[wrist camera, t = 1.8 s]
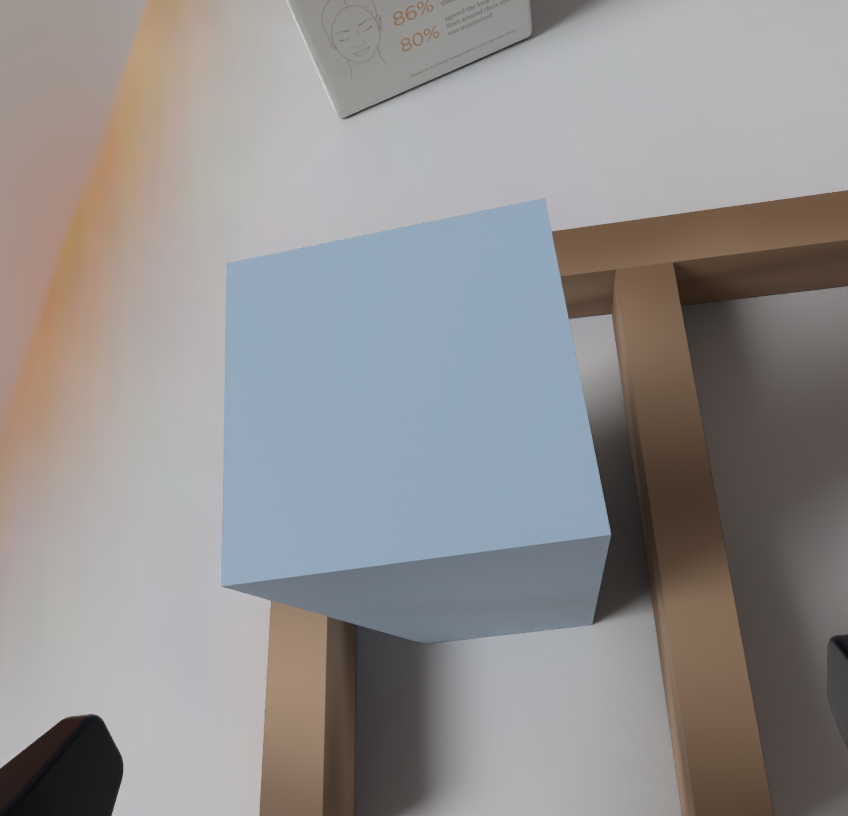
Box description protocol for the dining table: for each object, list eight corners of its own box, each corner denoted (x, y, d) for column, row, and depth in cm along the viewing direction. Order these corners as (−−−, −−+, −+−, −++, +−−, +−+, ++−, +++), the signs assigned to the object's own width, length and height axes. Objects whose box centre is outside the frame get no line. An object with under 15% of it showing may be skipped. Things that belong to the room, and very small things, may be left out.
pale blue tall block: (563, 461, 20) (545, 198, 9) (592, 624, 19) (611, 534, 8) (410, 484, 21) (226, 263, 10) (424, 644, 19) (221, 586, 8)
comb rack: (1248, 850, 14) (1373, 880, 12) (297, 840, 18) (256, 861, 16) (1000, 220, 20) (1053, 161, 18) (316, 308, 24) (288, 268, 22)
